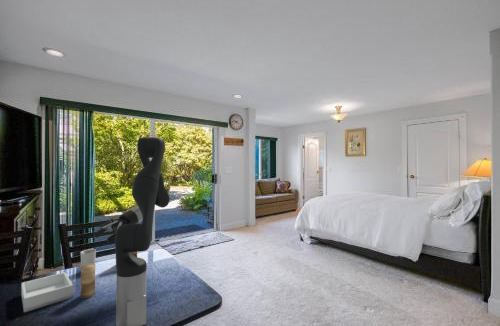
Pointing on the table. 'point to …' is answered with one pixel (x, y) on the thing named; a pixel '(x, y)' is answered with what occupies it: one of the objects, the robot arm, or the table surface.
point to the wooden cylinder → (87, 280)
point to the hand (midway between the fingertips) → (101, 238)
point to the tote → (46, 291)
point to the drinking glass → (88, 257)
